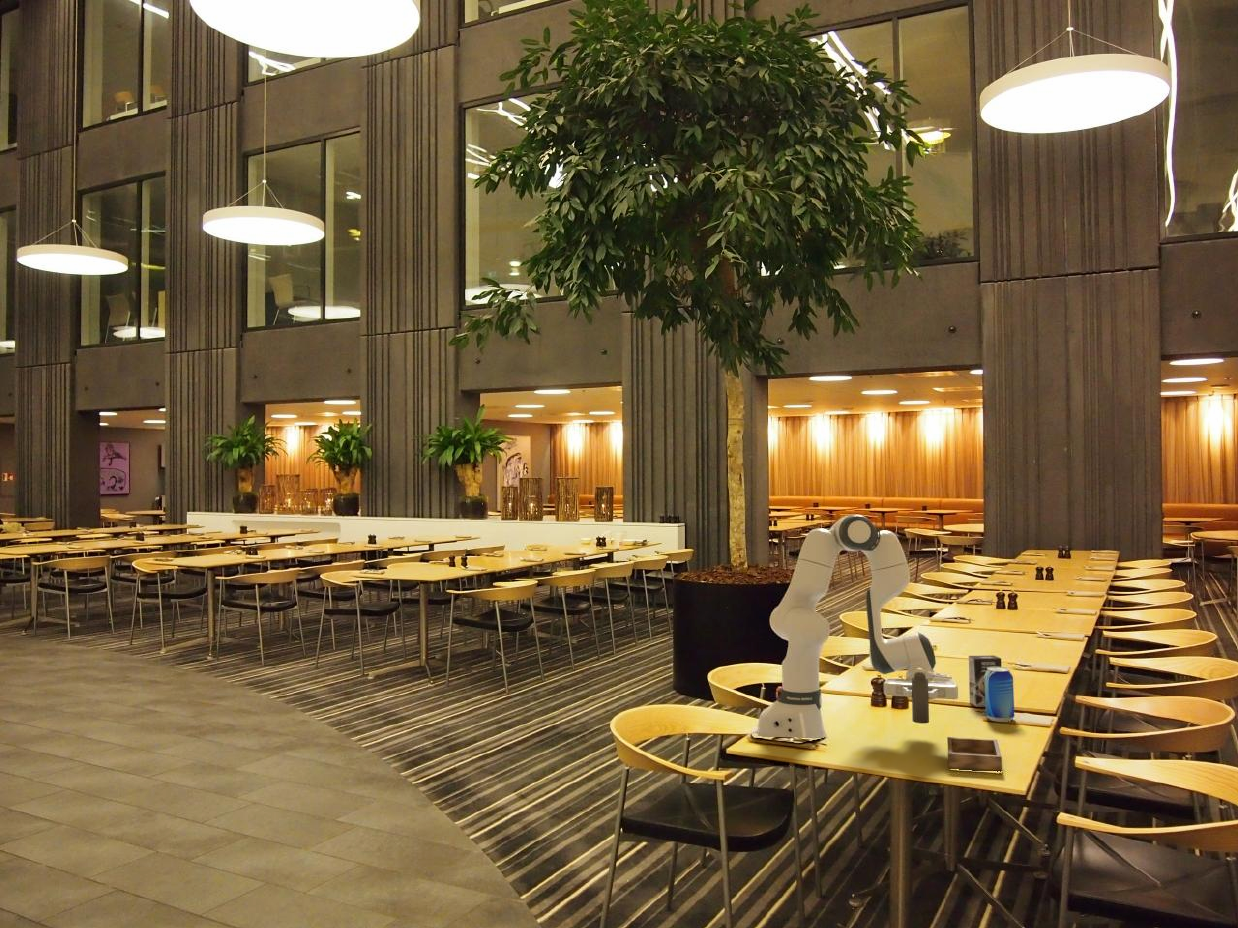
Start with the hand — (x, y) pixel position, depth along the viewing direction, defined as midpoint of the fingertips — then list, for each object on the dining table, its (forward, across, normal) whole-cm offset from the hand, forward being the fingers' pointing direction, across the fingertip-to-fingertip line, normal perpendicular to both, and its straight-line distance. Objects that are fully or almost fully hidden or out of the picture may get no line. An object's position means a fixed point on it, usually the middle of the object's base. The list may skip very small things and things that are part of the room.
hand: (920, 694), depth 257 cm
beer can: (-45, +23, +16) cm, 54 cm away
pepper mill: (-1, 0, +8) cm, 8 cm away
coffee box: (-64, +20, +16) cm, 69 cm away
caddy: (+4, +14, +17) cm, 22 cm away
